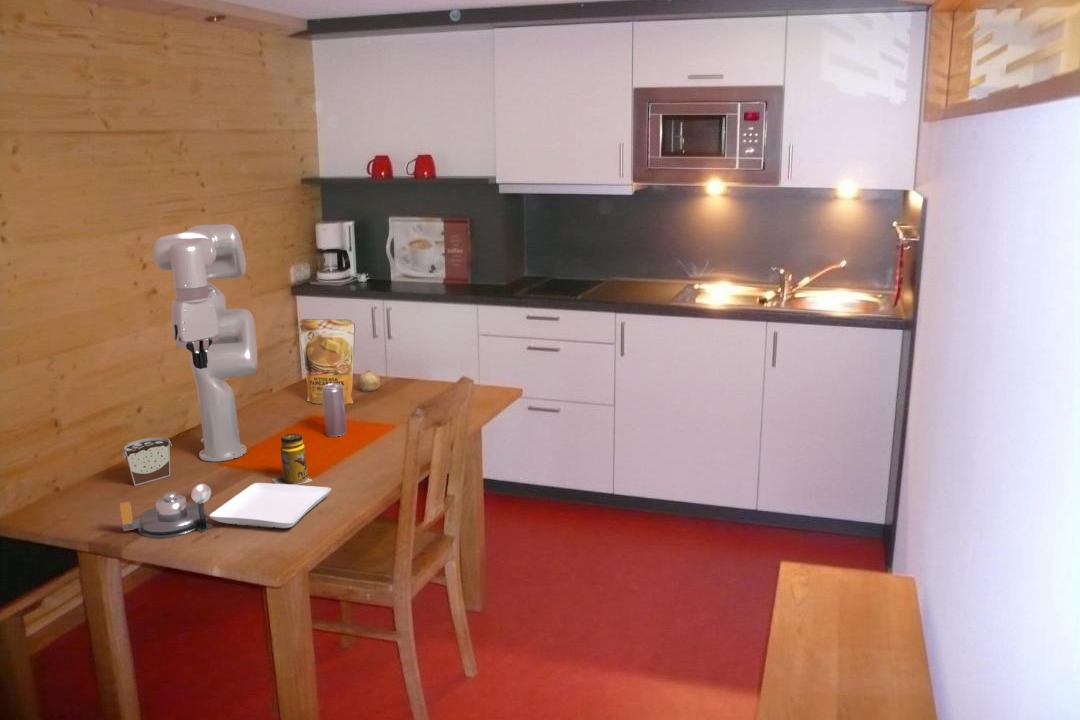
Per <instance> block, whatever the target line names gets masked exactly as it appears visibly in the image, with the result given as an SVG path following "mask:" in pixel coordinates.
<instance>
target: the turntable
mask: <svg viewBox="0 0 1080 720" xmlns="http://www.w3.org/2000/svg"><path fill="white" fill-rule="evenodd" d="M186 505H187V513H188V515H187V516H186V517H185V518H183V519H181V520H178V521H174V522H160V521H159V520H158V517H157V510H156V507H154V508H151V509H149V510H147V511H146V512H144V513H142V515H140V518H137V519H133V513H132V507H131V501H125V502H120V503H119V509H120V514H121V515H120V516H121V522H122V530H123V531H124V532H125V531H131V530H134V529H135V530H137V529H139V528H141V530H142V531H144V532H146V533H149V534H157V535H161V534H172V533H178V532H182V531H185V530H188V529H191V528H193V527H195V526H197V525H199V524H200V517H199V509H198V503H196V502H190V501H186ZM204 511H206V509H205V508H204Z"/></svg>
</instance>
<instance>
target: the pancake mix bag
mask: <svg viewBox="0 0 1080 720" xmlns="http://www.w3.org/2000/svg"><path fill="white" fill-rule="evenodd" d="M297 324H298V331H299V333H298V334H299V339H300V344H301V345H300V346H301V354H302V362H303V365H304V372H305V379H306V383H307V384H306V385H307V400H306V402H307V401H309V402H308V403H311V402H312V403H315V405H323V395H322V389H323V388H322V387H323V386H324V385H326V384H332V383H338V384H341V385H342V388H343V396H344V406H347V405H350V404H354V401H353V398H352V389H353V376H354V375H353V374H354V363H355V358H354V357H355V343H356V342H355V340H356V337H355V336H356V323H355V322H352V320H351V319H344V318H343V319H331V318H303V319H302V318H301V319H300V320H298V321H297ZM312 403H311V404H312Z"/></svg>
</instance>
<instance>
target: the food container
mask: <svg viewBox="0 0 1080 720" xmlns="http://www.w3.org/2000/svg"><path fill="white" fill-rule="evenodd" d="M170 446H171V447H172V446H173V445H172V442H171V441H170V438H167V437H148V438H141V439H137V440H134V441H131V442H128V443H127V444H126V445H125V446H124V447H123V450H122V457H123V459H126V463H127V466H128V470H129V473H130V477H131V481H132V485H133V486H134V487H135V486H139V485H143V484H146V483H151V482H153V481H157V480H160V479H161V480H162V479H164V478H167V477H171V455H170V454H171V452H170V451H171V450H170V449H171V447H170Z"/></svg>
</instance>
